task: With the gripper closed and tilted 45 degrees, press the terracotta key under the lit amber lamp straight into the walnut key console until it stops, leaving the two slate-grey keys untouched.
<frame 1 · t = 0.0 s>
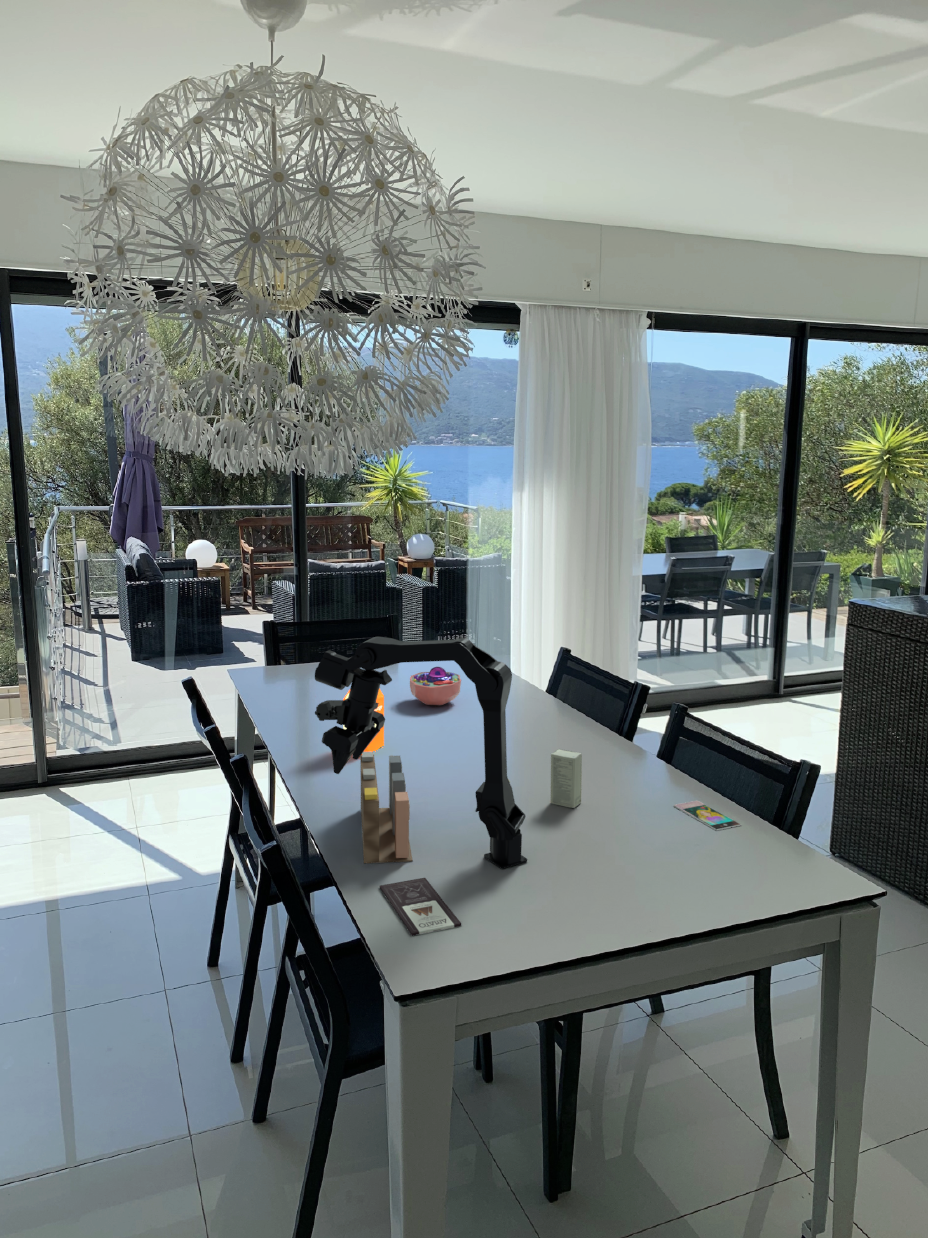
hand: (345, 765, 188), 15 cm above the table, tool pointing down, fingers open, 9 cm apart
middle slate key: (398, 803, 191), point 7 cm above the table, slide at 0.0 cm
walnut key console: (401, 856, 181), on the table
chocolate bar: (418, 909, 162), on the table
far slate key: (395, 784, 202), point 7 cm above the table, slide at 0.0 cm
terracotta key: (402, 824, 180), point 7 cm above the table, slide at 0.0 cm
smartphone: (706, 818, 204), on the table
orange juice: (363, 749, 246), on the table
skincare box: (565, 804, 210), on the table
cell model: (435, 703, 291), on the table
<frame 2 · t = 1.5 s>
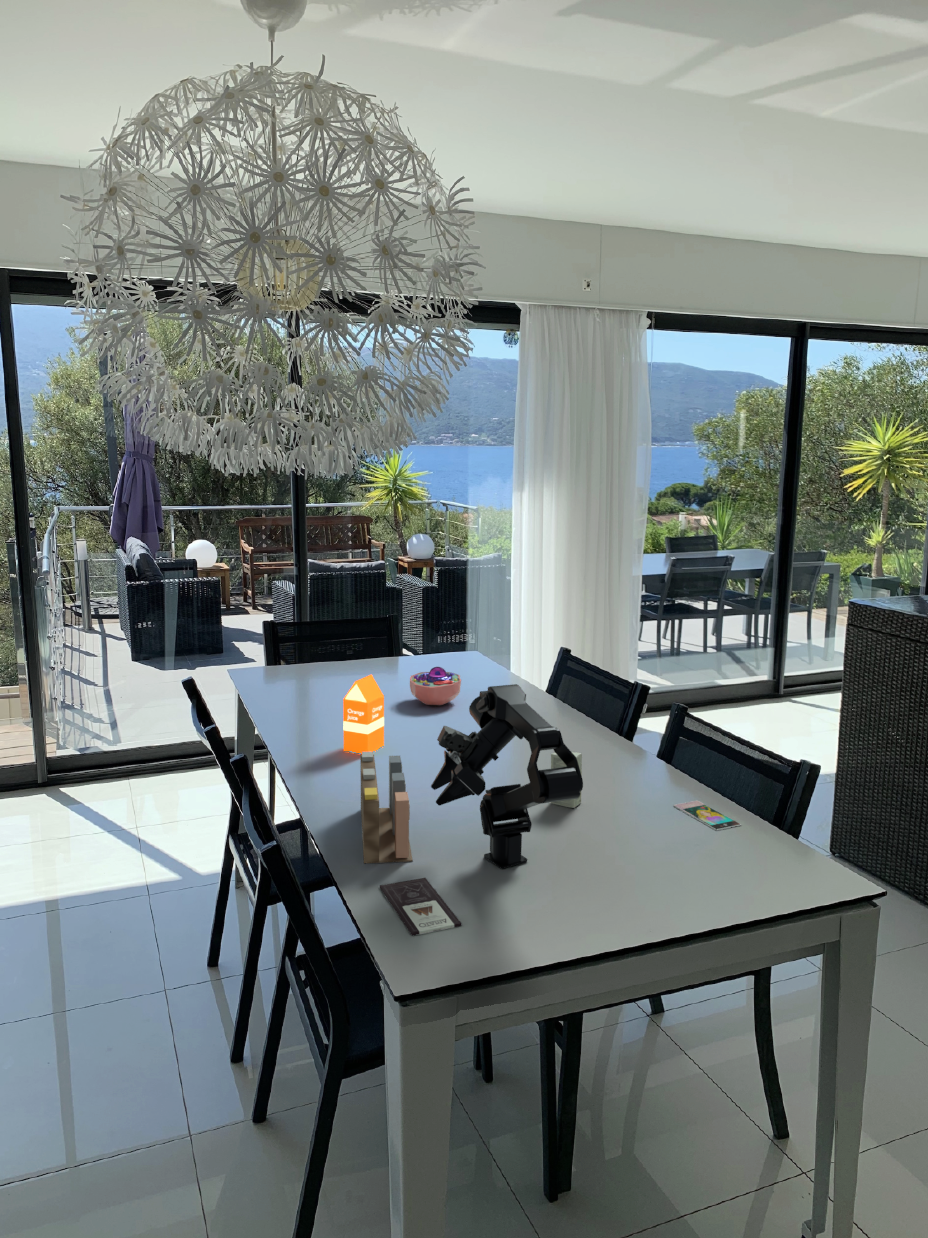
hand: (434, 795, 180), 13 cm above the table, tool tilted 45°, fingers open, 8 cm apart
nothing on the table moved.
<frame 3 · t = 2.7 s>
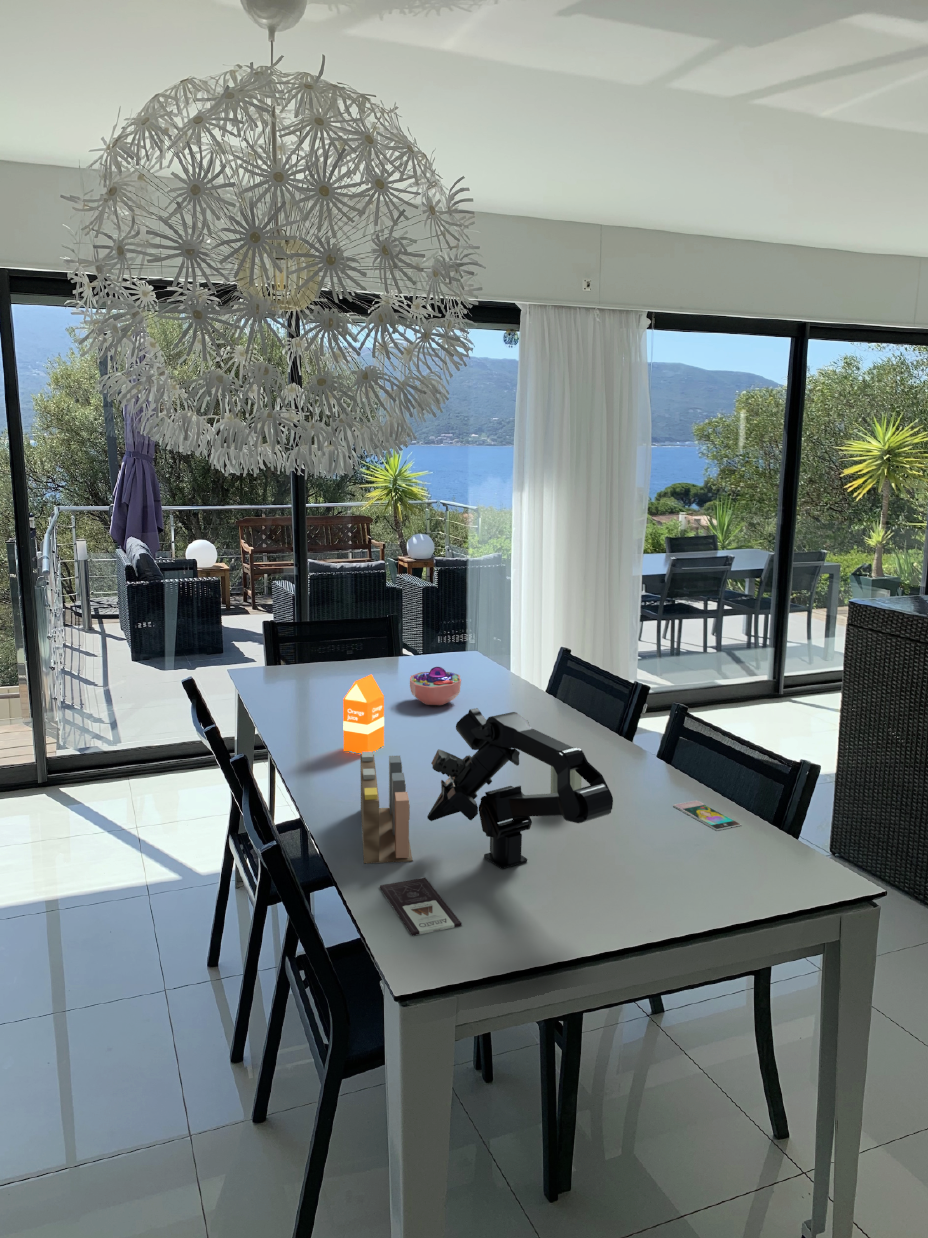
hand: (428, 819, 181), 8 cm above the table, tool tilted 45°, fingers closed
nothing on the table moved.
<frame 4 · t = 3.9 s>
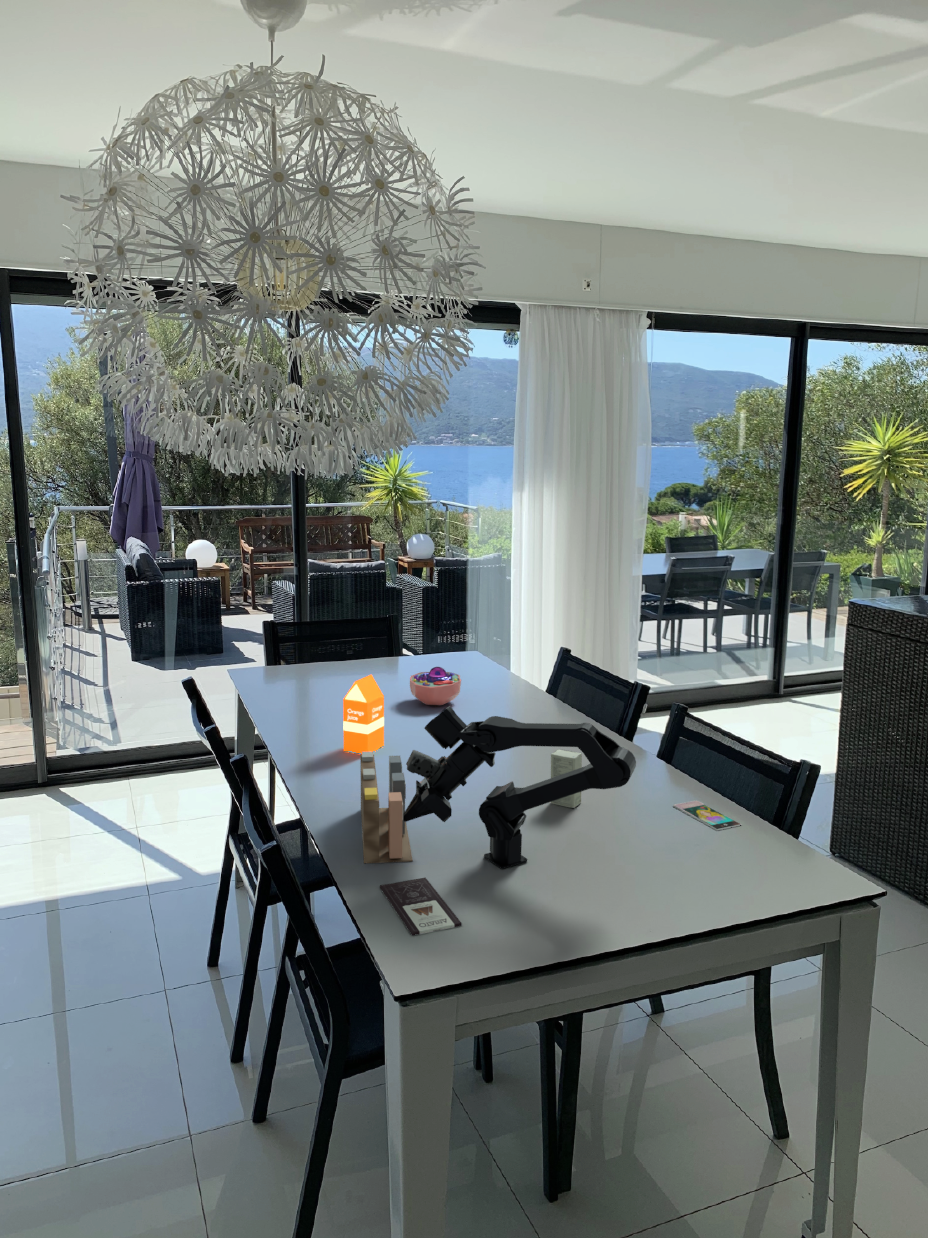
hand: (403, 819, 180), 8 cm above the table, tool tilted 45°, fingers closed, pressing on terracotta key
terracotta key: (395, 825, 180), point 7 cm above the table, slide at 1.3 cm, touching gripper
everything else where it was.
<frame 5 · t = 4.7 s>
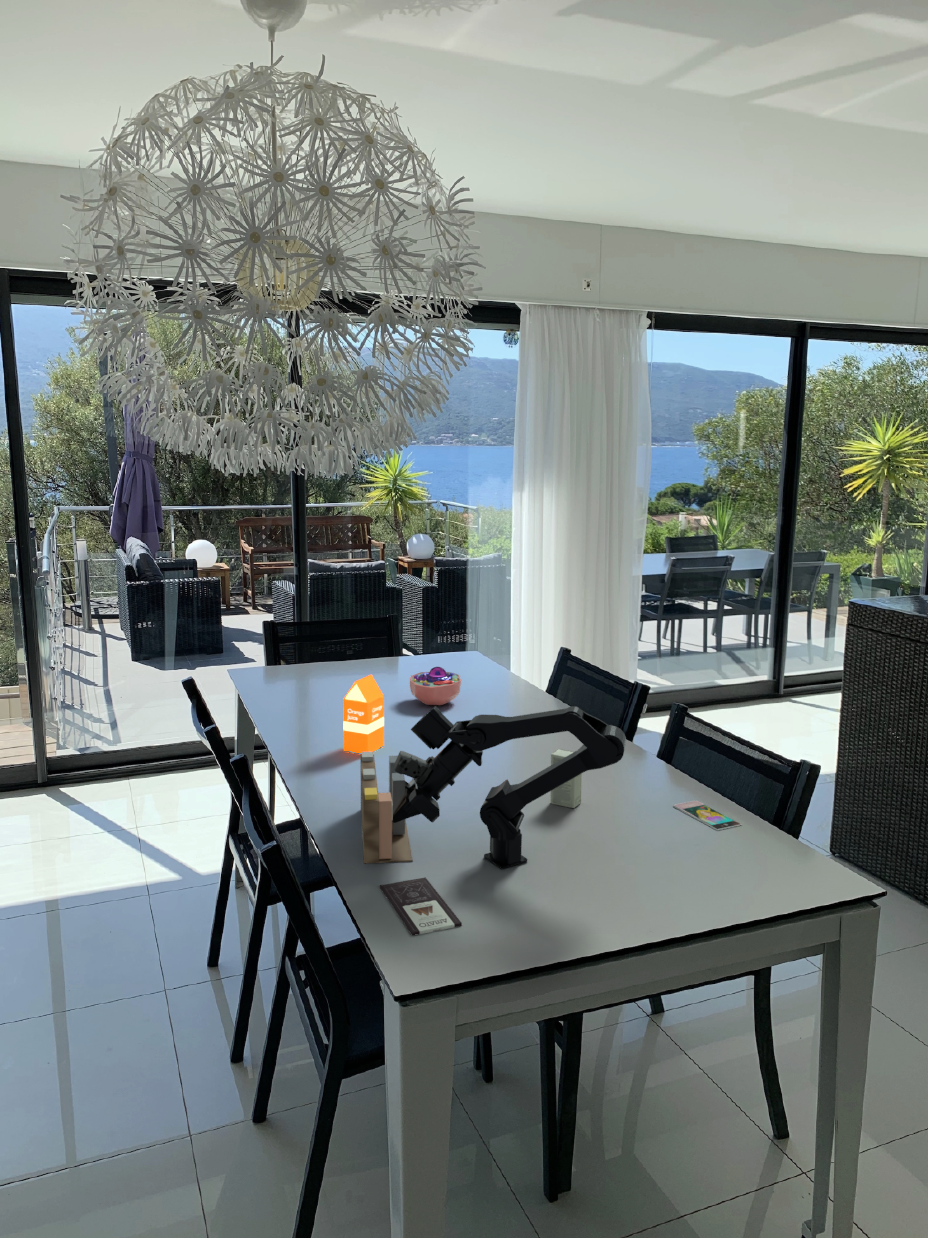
hand: (392, 821, 180), 8 cm above the table, tool tilted 45°, fingers closed, pressing on terracotta key
terracotta key: (385, 825, 180), point 7 cm above the table, slide at 3.4 cm, touching gripper, walnut key console
everything else where it was.
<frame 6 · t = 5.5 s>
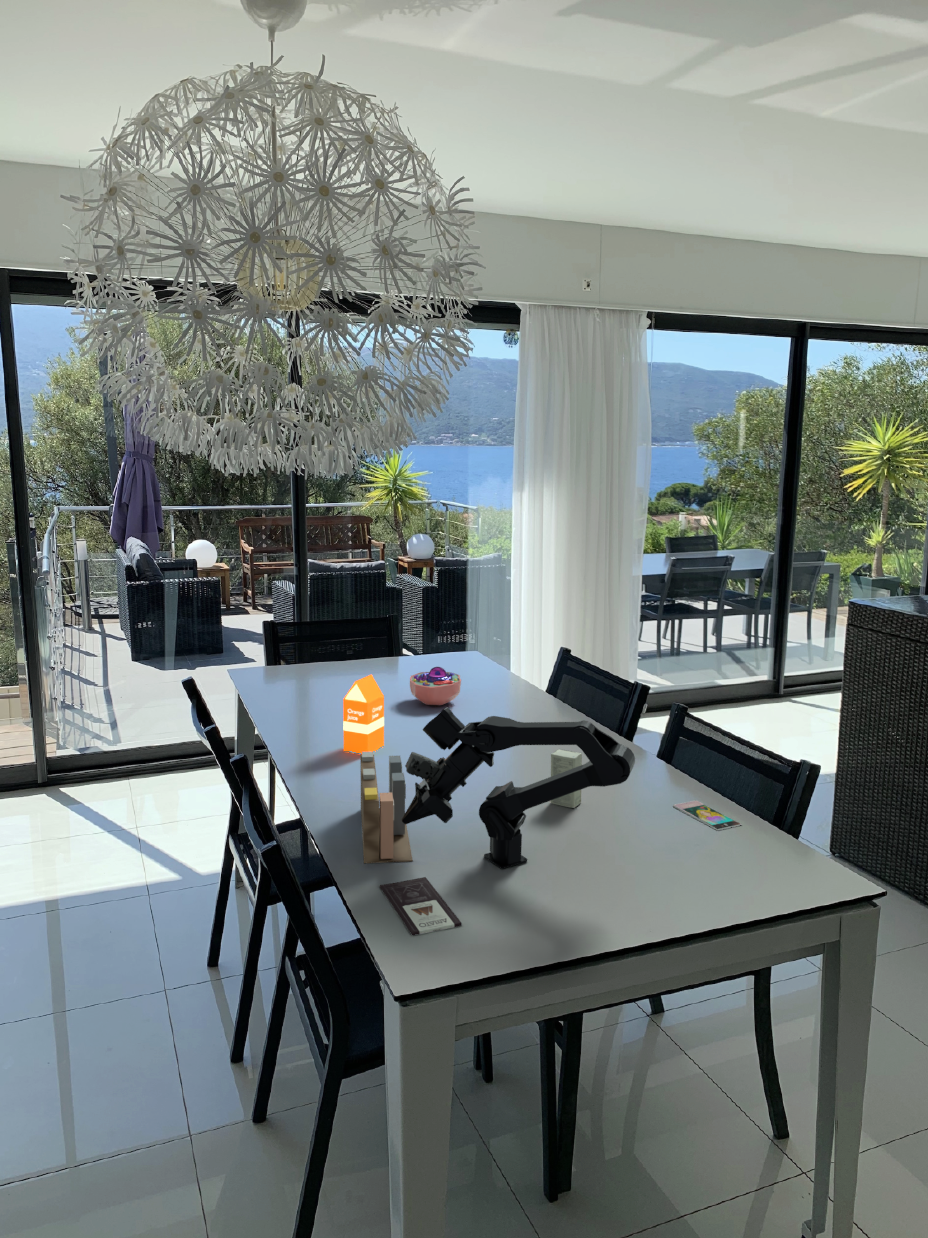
hand: (403, 822, 180), 7 cm above the table, tool tilted 45°, fingers closed
terracotta key: (386, 825, 180), point 7 cm above the table, slide at 3.1 cm
everything else where it was.
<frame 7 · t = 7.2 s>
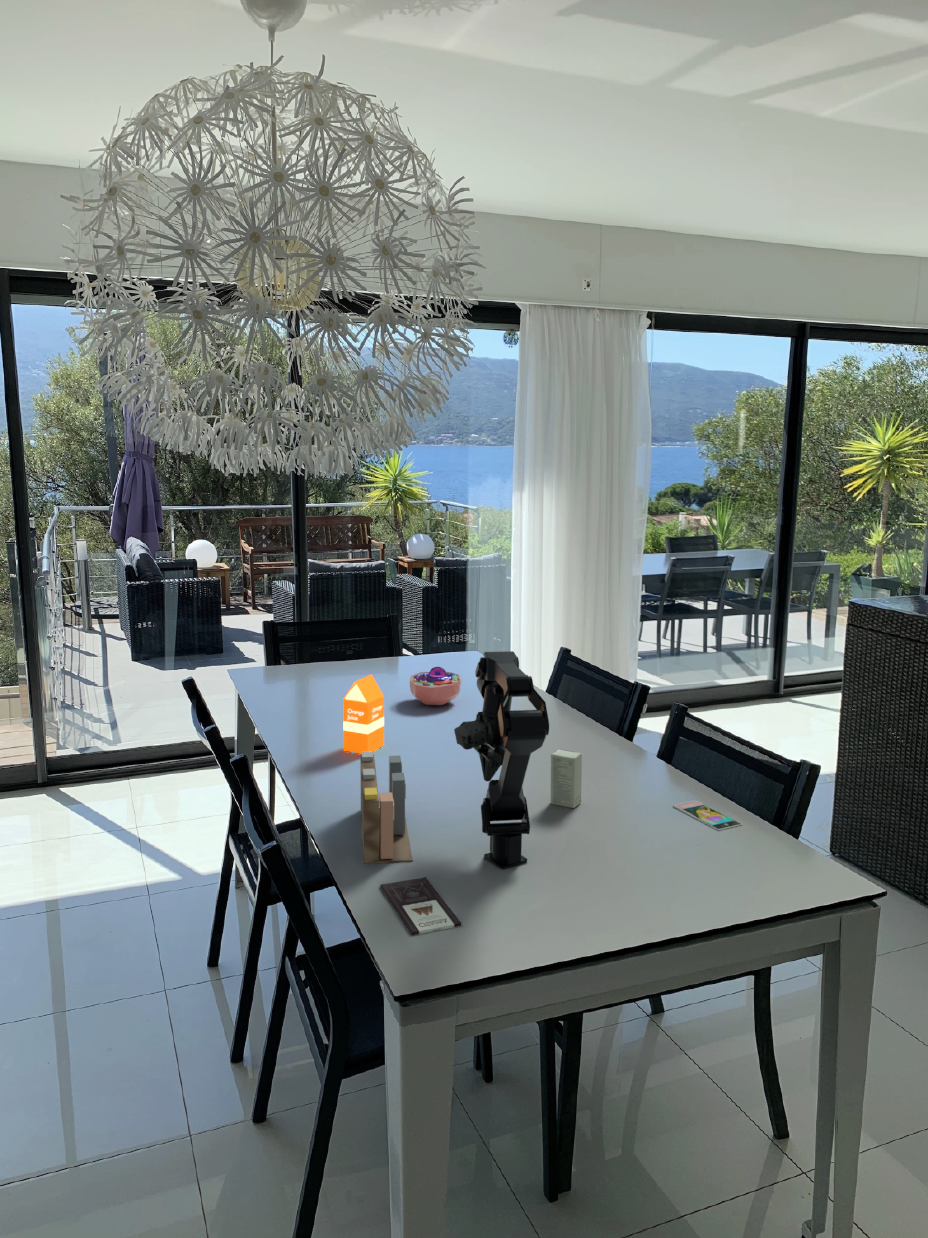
hand: (487, 780, 190), 12 cm above the table, tool pointing down, fingers closed
nothing on the table moved.
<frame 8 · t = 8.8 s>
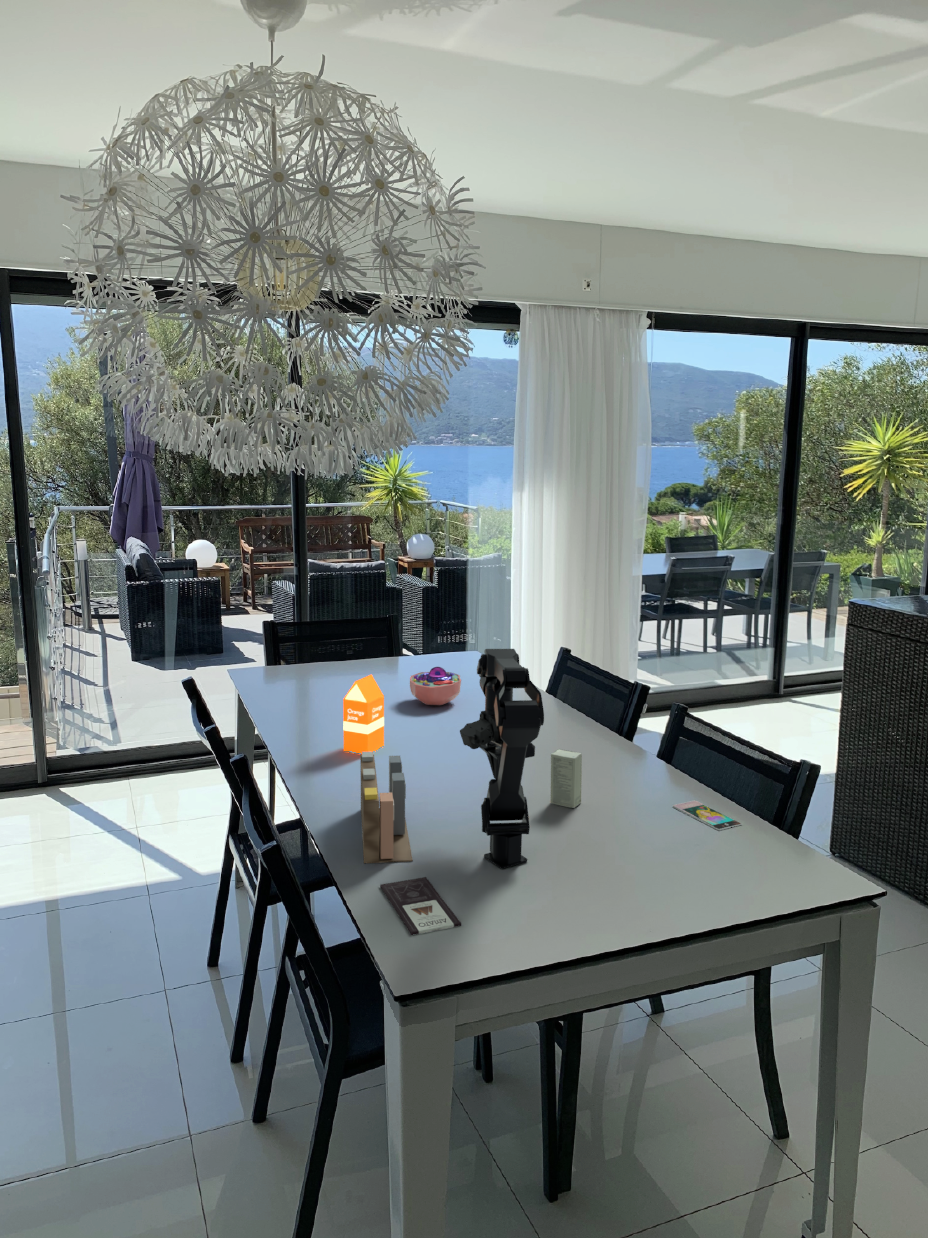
hand: (497, 778, 191), 12 cm above the table, tool pointing down, fingers closed
nothing on the table moved.
at the end: terracotta key slide at 3.1 cm; middle slate key slide at 0.0 cm; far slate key slide at 0.0 cm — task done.
